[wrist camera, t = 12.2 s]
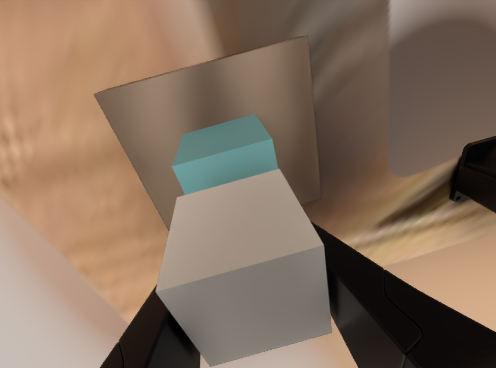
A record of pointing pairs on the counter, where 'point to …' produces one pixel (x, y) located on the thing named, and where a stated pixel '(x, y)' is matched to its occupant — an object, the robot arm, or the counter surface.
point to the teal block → (224, 154)
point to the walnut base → (219, 115)
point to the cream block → (244, 269)
